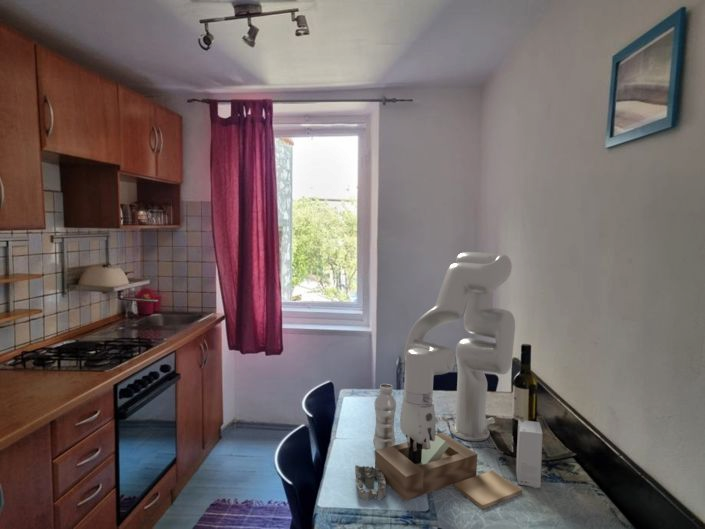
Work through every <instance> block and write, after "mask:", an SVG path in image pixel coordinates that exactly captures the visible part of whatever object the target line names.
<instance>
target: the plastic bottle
mask: <svg viewBox="0 0 705 529" xmlns="http://www.w3.org/2000/svg"><path fill="white" fill-rule="evenodd" d="M378 391H379V393H378V395H377V396H376V398H375V399H374V405H373V406H374V412H375V428H374V435H373V442H372V444H373V448H374V449H375V450H379V449H383V448H387V447H390V446H394V445H396V436H395V426H394V424H395V416H396V409H397V401H396V399H395V397H394V396H393V392H394V390H393V385H392V384H388V383H382V384H380V386H379V390H378Z"/></svg>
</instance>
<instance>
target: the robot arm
mask: <svg viewBox="0 0 705 529" xmlns="http://www.w3.org/2000/svg"><path fill="white" fill-rule="evenodd" d="M512 265H513V264H512V261H511V259H510V257H509V256H507V255H505V254H503V253H490V252H479V251H465V252H461V253H459V254H458V255H457V256H456V258H455V263H452V264H450V265H449V267H448V268H447V271H446V272H445V276H444V278H443V280H442V281H443V282H442V284H441V287H440V291H439V293H438V296H437V300H436V302H435V304H434V306H433V307H432V308H431V309H429V310H428V311H426V312H425V313H424V314H423V315H422V316H421V317H419V318H418V320H416V321H415V323H414V324H413V326H412V327H411V329H410V332H409V334H408V337H407V340H406V343H405V346H404V351H403V352H404V353H403V356H404V360H405V363H404V365H405V366H404V387H403V398H402V403H401V408H400V420H399V427H400V431H401V432H402V434H403V435H404V436H405V438H406V442H407V445H408V447H410V448H409V455H408V459H409V460H410V461H412V462H413V463H414V464H418V463H421V458H422V449H425V450H427V449H430V441H435V434H437V433H436V432H437V431H436V429H437V428H436V424H437V423H436V410H435V405H434V403H433V402H434V401H433V394H434V392H433V391H434V376H437V375H445V374H447V373H449V372H451V371H452V370H453V369H454V367H455V365H456V366H457V382H456V384H457V385H456V402H455V421H454V422H452V423H451V424H450V427H449V429H450V430H449V431H450V432H451V434H452V435H453V436H455V437H457V438H458V439H461V440H465V441H470V442H482V441H485V440H487V439H488V438H490V429H489V428H488V426H489V425H491V424H495V422H496V420H495V418H494V417H493V416H492V417H489V418H488V417H486V415H487V414H486V412H487V396H488V394H487V393H488V380H487V377H486V375H485V372H487V373H491V374H494V375H495V374H496V375H500V376H501V375H502V376H503V375H507V374H508V372H510V370H511V366H512V362H513V354H514V345H515V335H516V334H515V332H516V320H515V317H514V314H513V312H511V311H509V310H508V309H503V308H496V307H494V306H493V305H494V292H495V291H496V290H497V289H498V288H500V287H501V286H502V285H503V284H504V283H505V282H506V281H507V280H508V279H509V277H510V275H511V272H512V268H513V266H512ZM462 318H463V327H464V330H465V331H466V333H469V334H471V335H476V336H479V337H480V336H481V337H485V338H491V339H494V340H495V342H493V341H487V340H485V339H479V338H474V337H464V338H462V339H461V340H459V341H458V342H457V345H456V347H455V351H454V350H453V348H450V347H449V346H446V345H443V344H436V343H433V342H429V341H424V340H425V338H426V336H427V335H428V333H430V332H431V331H432V330H433V329H435V328H437V327H439V326H442V325H445V324H448V323H452V322H456V321H459V320H461V319H462ZM418 443H419V444H418Z"/></svg>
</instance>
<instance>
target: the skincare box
mask: <svg viewBox="0 0 705 529" xmlns="http://www.w3.org/2000/svg"><path fill="white" fill-rule="evenodd" d="M517 421H518V422H517V438H516V439H517V440H516V442H517V443H516V459H515V460H516V461H515V462H516V463H515V470H516V471H515V472H516V473H515V474H516V479H517V484H518V485H522V486H527V487H530V488H534V489H541V485H542V484H541V481H542V478H541V476H542V475H541V474H542V453H543V433H544V432H543V430H542V429H543V428H542V426H541V423H540V422H539V421H531V420H525V419H523V420H522V419H518V420H517Z"/></svg>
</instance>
